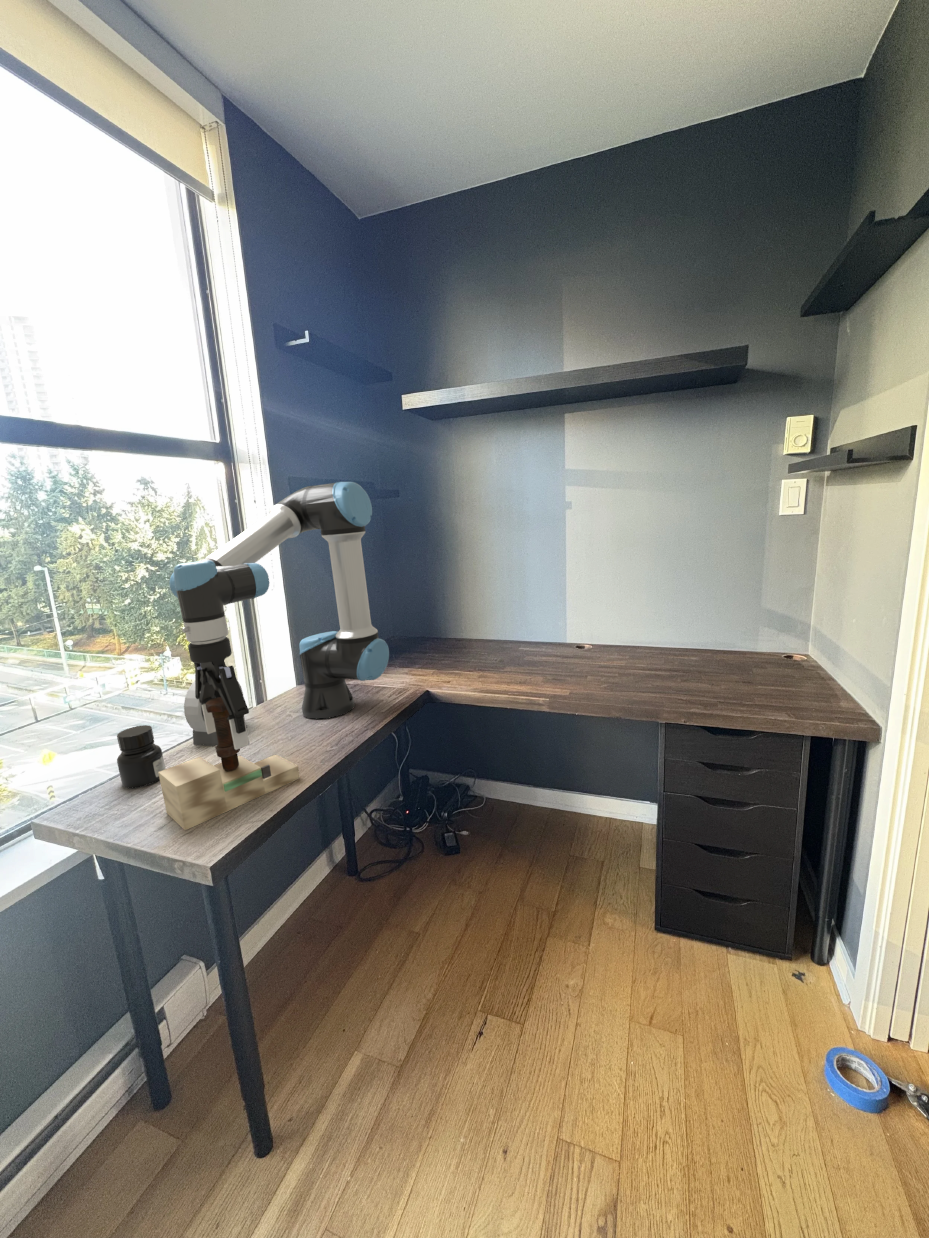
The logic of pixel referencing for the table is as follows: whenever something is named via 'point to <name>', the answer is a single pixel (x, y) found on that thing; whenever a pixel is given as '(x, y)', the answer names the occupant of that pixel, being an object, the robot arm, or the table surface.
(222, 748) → the bolt
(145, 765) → the ink bottle
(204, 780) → the stair stand
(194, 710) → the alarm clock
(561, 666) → the table surface
